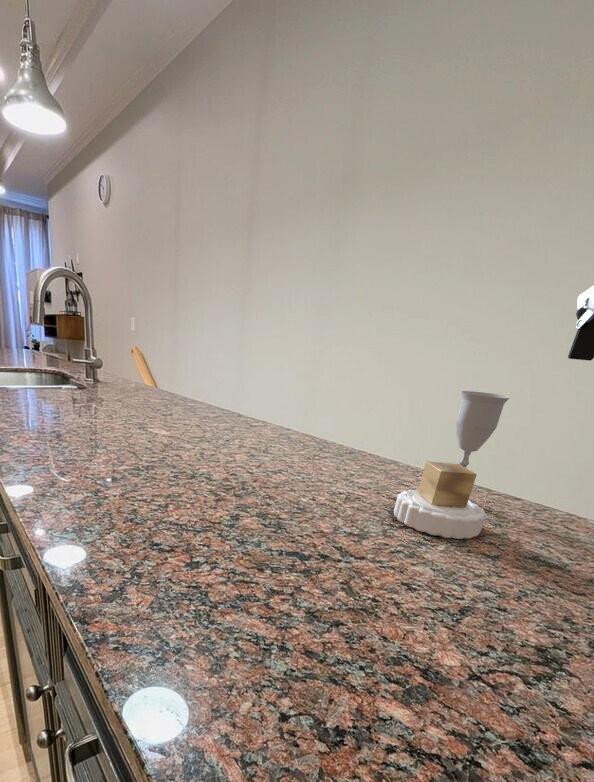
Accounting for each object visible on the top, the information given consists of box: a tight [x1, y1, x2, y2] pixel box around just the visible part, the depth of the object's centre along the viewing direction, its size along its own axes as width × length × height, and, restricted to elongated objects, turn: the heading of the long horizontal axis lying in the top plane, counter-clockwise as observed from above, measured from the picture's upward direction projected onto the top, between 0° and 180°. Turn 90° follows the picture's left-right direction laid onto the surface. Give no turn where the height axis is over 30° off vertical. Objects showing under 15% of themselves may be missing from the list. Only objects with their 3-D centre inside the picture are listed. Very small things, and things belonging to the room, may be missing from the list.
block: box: [417, 460, 478, 507], centre depth 65 cm, size 5×5×5 cm
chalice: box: [455, 390, 511, 468], centre depth 74 cm, size 7×7×18 cm
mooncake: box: [393, 489, 487, 540], centre depth 66 cm, size 12×12×4 cm
